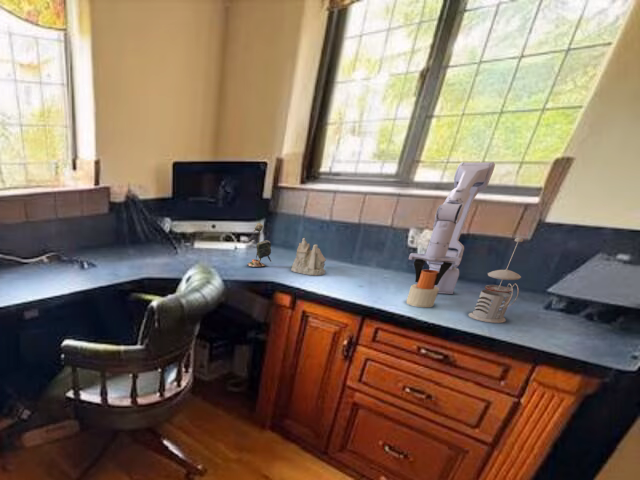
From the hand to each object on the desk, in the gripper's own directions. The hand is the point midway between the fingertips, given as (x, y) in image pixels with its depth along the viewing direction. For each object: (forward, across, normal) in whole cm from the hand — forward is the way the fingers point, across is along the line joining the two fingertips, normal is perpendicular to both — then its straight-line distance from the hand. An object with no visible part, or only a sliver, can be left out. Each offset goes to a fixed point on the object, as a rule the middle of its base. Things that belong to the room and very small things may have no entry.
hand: (426, 283), depth 146 cm
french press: (+8, +20, -3) cm, 22 cm away
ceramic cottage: (+8, -49, +22) cm, 54 cm away
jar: (+8, 0, 0) cm, 8 cm away
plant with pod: (+8, -72, +16) cm, 74 cm away
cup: (+1, 0, 0) cm, 1 cm away
